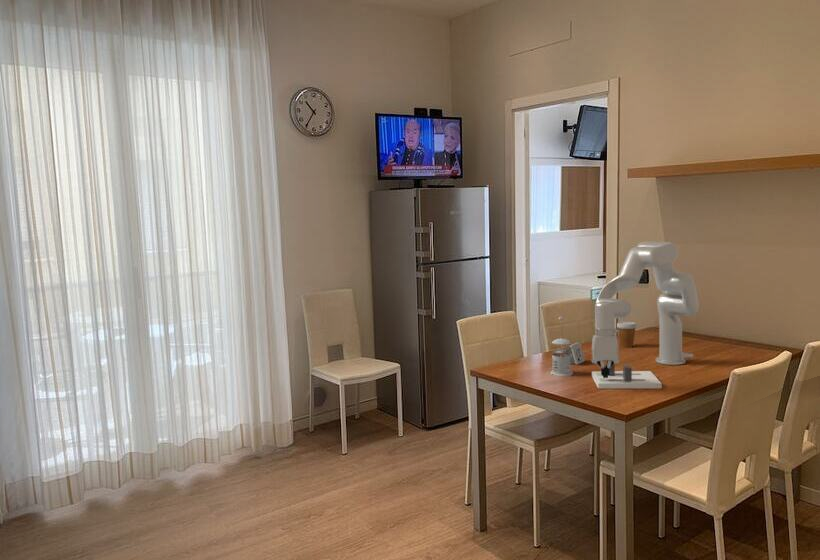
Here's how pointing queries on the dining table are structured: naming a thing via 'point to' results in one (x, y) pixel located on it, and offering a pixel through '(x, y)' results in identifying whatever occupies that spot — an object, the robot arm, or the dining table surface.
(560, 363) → the french press
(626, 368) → the handle
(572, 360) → the electrical switch
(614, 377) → the white slider control panel
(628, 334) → the disposable coffee cup
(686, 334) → the dining table surface
